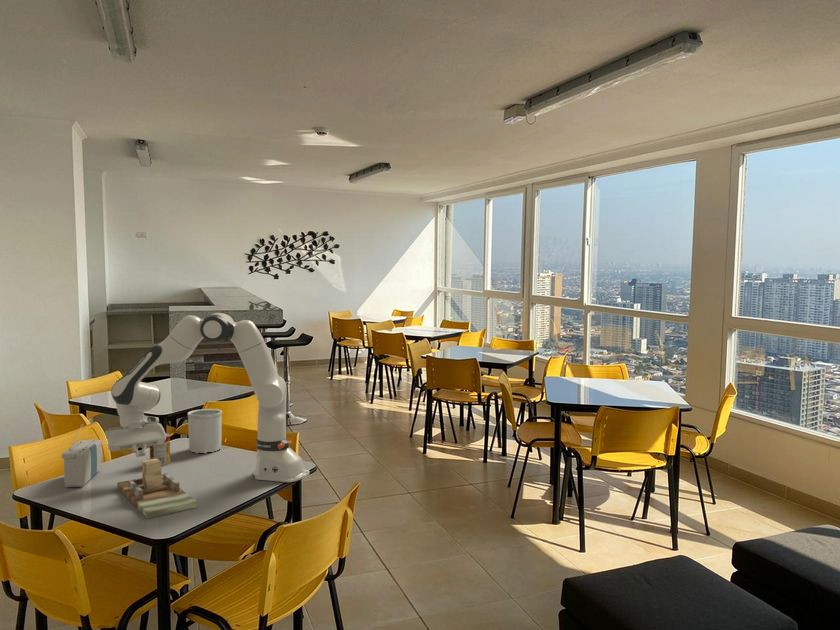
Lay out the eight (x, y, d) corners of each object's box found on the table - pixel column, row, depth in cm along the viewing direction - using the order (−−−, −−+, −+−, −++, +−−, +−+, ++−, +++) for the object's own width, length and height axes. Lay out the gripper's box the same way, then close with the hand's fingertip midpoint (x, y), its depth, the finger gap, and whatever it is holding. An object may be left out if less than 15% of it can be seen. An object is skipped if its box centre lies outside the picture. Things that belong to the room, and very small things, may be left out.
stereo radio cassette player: (85, 488, 223) (84, 434, 222) (61, 489, 221) (59, 435, 220) (103, 470, 243) (102, 421, 242) (80, 471, 242) (80, 422, 241)
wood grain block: (137, 487, 218) (136, 460, 217) (160, 482, 223) (159, 456, 223) (143, 493, 212) (143, 466, 211) (167, 488, 217) (166, 461, 216)
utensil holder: (184, 448, 277) (183, 410, 276) (216, 443, 285) (216, 407, 285) (192, 456, 265) (192, 416, 264) (226, 451, 273) (226, 412, 272)
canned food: (168, 459, 259) (167, 432, 259) (171, 464, 253) (171, 436, 252) (148, 462, 255) (148, 434, 254) (151, 467, 249) (151, 438, 248)
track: (117, 487, 223) (117, 474, 223) (162, 479, 234) (162, 466, 234) (147, 518, 195) (147, 503, 195) (197, 507, 206) (196, 492, 205)
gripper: (105, 424, 225) (112, 456, 218) (162, 417, 239) (170, 446, 232) (102, 433, 229) (109, 465, 222) (159, 426, 242) (167, 455, 235)
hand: (141, 455), depth 227 cm, fingers closed
